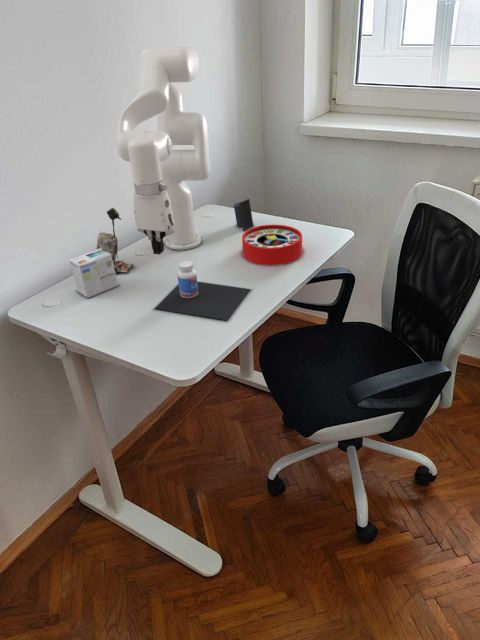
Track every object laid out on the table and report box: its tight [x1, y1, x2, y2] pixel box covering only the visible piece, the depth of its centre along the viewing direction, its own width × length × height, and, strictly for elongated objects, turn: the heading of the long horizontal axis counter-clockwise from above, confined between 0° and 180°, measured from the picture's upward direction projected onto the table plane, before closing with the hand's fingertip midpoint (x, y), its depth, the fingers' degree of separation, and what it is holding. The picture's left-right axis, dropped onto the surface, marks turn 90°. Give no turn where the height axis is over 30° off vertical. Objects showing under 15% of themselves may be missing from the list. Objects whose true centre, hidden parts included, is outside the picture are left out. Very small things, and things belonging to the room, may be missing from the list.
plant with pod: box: [96, 207, 134, 274], centre depth 163 cm, size 8×11×20 cm
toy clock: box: [241, 224, 303, 266], centre depth 174 cm, size 20×6×20 cm
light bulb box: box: [68, 248, 119, 299], centre depth 155 cm, size 11×7×11 cm, turn 134°
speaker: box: [233, 198, 255, 232], centre depth 193 cm, size 8×6×10 cm
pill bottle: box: [176, 260, 198, 298], centre depth 150 cm, size 6×5×10 cm
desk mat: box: [154, 281, 251, 322], centre depth 151 cm, size 22×18×1 cm
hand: (158, 252), depth 148 cm, fingers closed
